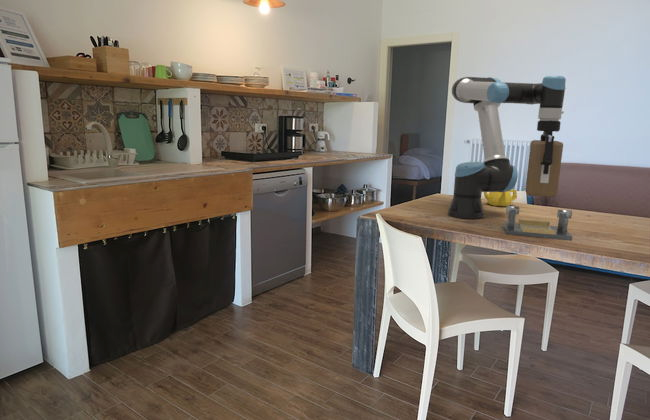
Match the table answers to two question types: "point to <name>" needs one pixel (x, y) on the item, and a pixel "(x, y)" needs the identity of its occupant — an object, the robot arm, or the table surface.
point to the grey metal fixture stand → (538, 225)
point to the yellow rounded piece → (500, 198)
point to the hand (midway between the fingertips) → (541, 180)
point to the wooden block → (535, 168)
